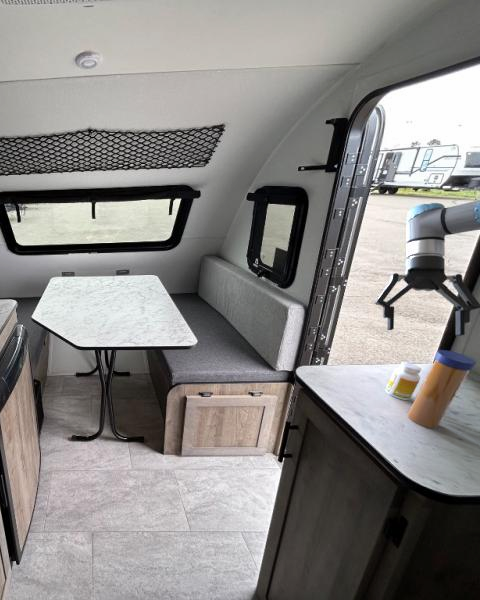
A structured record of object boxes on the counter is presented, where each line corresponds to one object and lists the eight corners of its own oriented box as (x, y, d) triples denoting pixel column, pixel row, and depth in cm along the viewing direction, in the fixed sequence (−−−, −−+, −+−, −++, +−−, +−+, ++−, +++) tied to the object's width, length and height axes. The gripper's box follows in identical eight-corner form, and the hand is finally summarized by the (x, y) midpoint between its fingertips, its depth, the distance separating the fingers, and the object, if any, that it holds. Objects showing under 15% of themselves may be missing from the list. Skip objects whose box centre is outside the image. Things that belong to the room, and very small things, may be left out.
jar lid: (467, 362, 78) (470, 355, 77) (477, 373, 73) (481, 367, 72) (431, 353, 81) (434, 347, 80) (438, 364, 76) (442, 357, 76)
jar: (433, 419, 84) (467, 357, 77) (440, 431, 80) (477, 367, 73) (404, 410, 87) (435, 350, 80) (409, 422, 82) (442, 359, 76)
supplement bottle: (415, 400, 91) (430, 370, 88) (399, 401, 91) (414, 371, 87) (395, 388, 96) (408, 360, 93) (380, 389, 95) (393, 361, 92)
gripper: (483, 262, 88) (484, 339, 86) (364, 262, 102) (361, 328, 99) (499, 253, 82) (501, 336, 79) (370, 254, 95) (367, 325, 93)
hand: (423, 332), depth 89 cm, fingers open, 13 cm apart
